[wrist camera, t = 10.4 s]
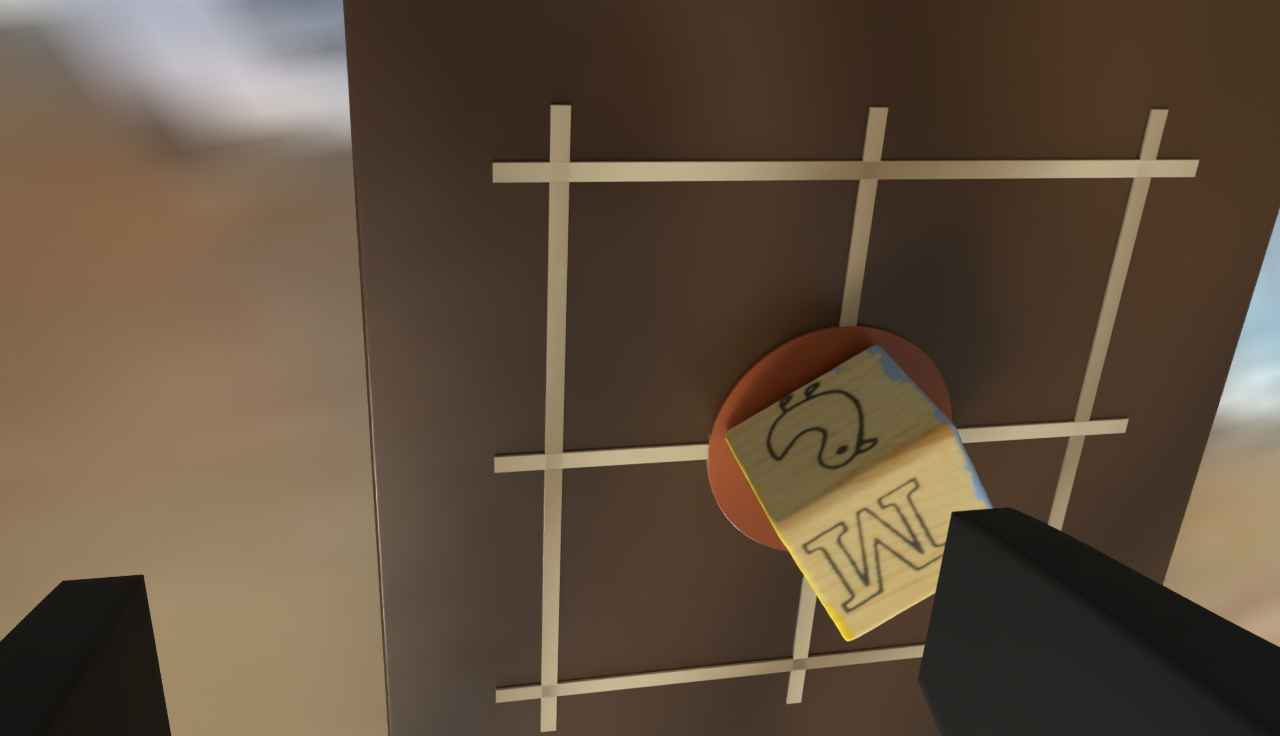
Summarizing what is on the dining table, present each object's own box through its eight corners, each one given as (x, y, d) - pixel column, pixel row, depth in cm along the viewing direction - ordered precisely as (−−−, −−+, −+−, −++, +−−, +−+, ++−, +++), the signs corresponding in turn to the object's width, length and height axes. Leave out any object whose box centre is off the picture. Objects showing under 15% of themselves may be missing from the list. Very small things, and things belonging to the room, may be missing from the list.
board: (397, 848, 23) (398, 900, 22) (333, -215, 15) (328, -220, 14) (1069, 758, 27) (1100, 800, 25) (1332, -149, 18) (1397, -148, 17)
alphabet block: (935, 460, 20) (1021, 556, 17) (790, 547, 20) (852, 654, 18) (872, 335, 19) (955, 418, 16) (716, 429, 19) (772, 527, 16)
